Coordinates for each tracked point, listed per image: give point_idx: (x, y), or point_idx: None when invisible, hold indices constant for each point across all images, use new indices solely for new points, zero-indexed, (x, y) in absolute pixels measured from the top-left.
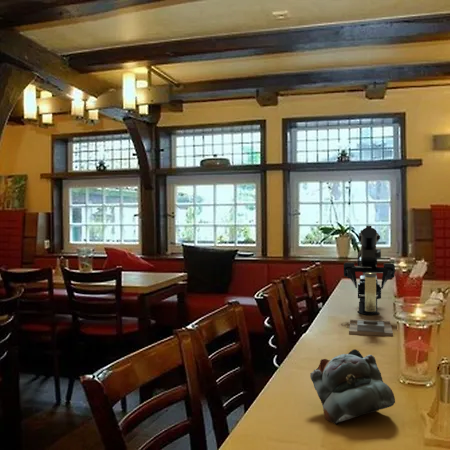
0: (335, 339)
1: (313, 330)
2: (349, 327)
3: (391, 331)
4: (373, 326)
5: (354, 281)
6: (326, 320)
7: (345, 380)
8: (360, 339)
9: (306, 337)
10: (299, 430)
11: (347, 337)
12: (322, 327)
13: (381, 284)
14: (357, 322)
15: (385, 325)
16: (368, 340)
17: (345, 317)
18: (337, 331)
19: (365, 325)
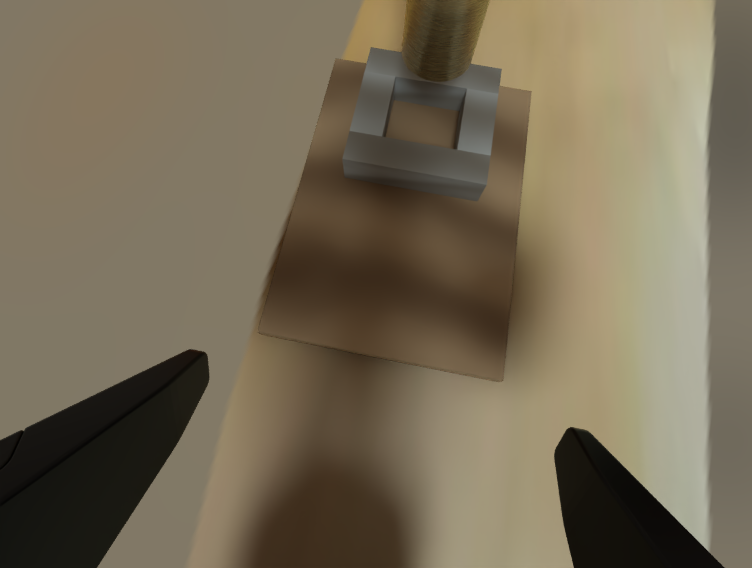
0: (585, 22)
1: (694, 166)
2: (524, 159)
3: (332, 86)
4: None
5: (660, 506)
6: (649, 433)
7: None
8: (484, 23)
9: (706, 48)
10: None
11: (535, 50)
12: (657, 231)
13: (180, 373)
14: (494, 121)
15: (323, 207)
16: None
17: (518, 558)
18: (577, 149)
19: None
